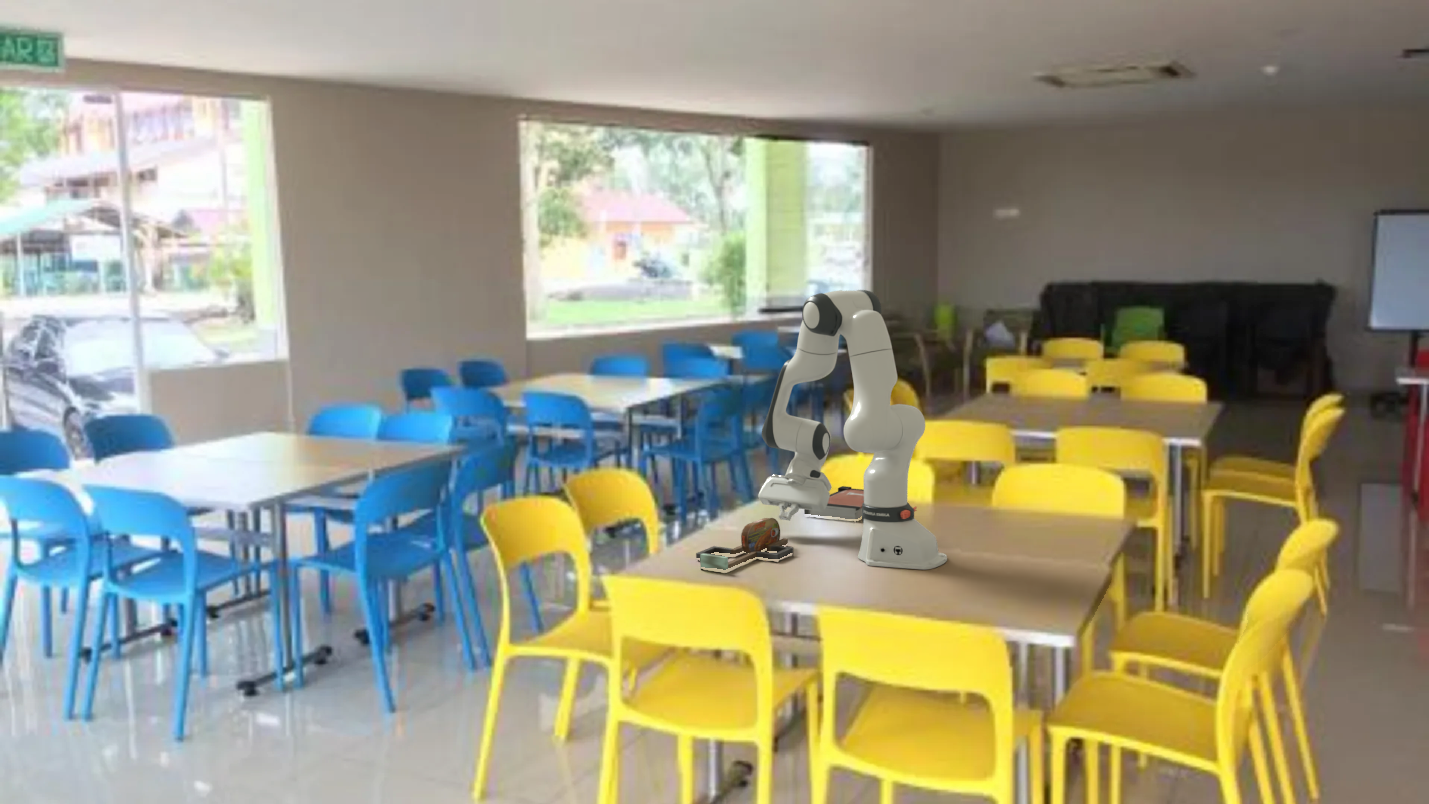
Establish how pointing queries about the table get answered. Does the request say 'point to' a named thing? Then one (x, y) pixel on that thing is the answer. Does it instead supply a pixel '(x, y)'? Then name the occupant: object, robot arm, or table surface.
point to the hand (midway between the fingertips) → (784, 518)
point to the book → (843, 504)
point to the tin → (760, 534)
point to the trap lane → (722, 561)
